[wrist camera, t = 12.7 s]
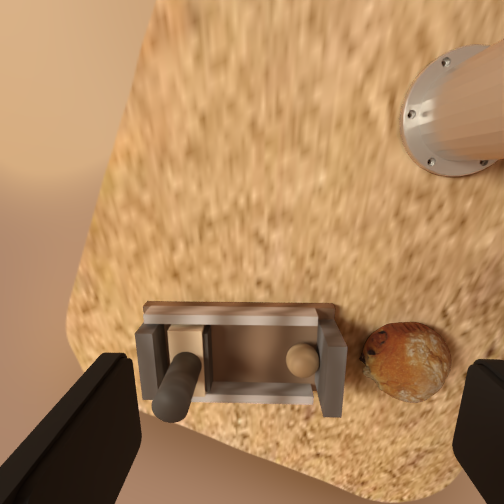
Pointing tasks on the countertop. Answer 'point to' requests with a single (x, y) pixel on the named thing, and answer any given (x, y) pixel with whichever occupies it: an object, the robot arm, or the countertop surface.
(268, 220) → the countertop surface
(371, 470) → the countertop surface
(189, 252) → the countertop surface
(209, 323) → the base
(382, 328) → the bread roll
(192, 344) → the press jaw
